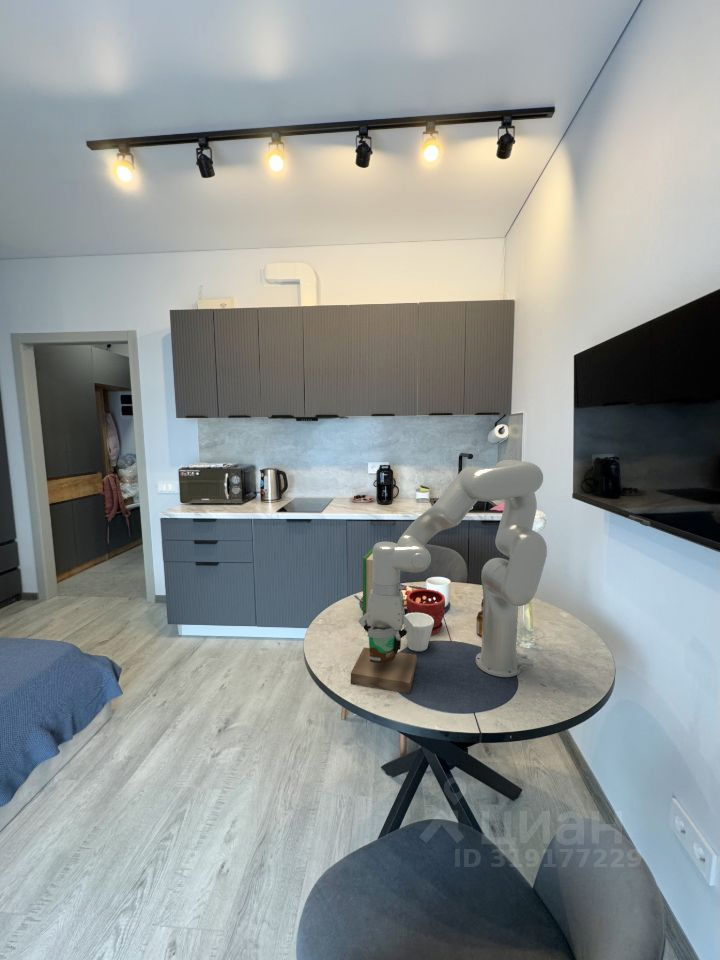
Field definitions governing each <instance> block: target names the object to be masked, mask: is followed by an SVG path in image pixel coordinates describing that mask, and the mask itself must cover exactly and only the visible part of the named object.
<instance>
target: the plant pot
mask: <svg viewBox="0 0 720 960" xmlns="http://www.w3.org/2000/svg"><path fill="white" fill-rule="evenodd" d="M424 597H425V598H424ZM418 598H419V599H420V601H419V602H417V601H416V599H418ZM425 602H426V603H425ZM406 611H407V614H409V613H424V614H427V615H429V616H431V617H432V618H433V620H434V625H433V628H432V632H431V635H434V634H437V633H439V632H440V631H441V630H443V625H444V624H443V619H444V616H445V611H446V597H445V595H444V594H443V593H442V592H439V590H438V591H437V590H434V589H428V588H420V589H414V590H412V591H409V592H408V593H407V596H406Z"/></svg>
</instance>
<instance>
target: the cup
mask: <svg viewBox="0 0 720 960" xmlns="http://www.w3.org/2000/svg"><path fill="white" fill-rule="evenodd" d="M405 617H406V618H407V619H408V620H409V622H410V623H411V624H412V625H413V629H412V630H411V631H410V632H408V633H407V634H406V635H405V639H406V643H407V647H408V649H409V650H411V651H413V652H417V653H420V652H422V653H423V652H425V651H426V650H428V646H429V642H430V638H431V635H432V634H431V632H432V628H433V625H434V620H433V618H432V617H431V616H429V615H427V614H424V613H409V614H408V613H406V614H405ZM402 626H403V629H404V628H406V626H405V625H404V624H403V625H402Z"/></svg>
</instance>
